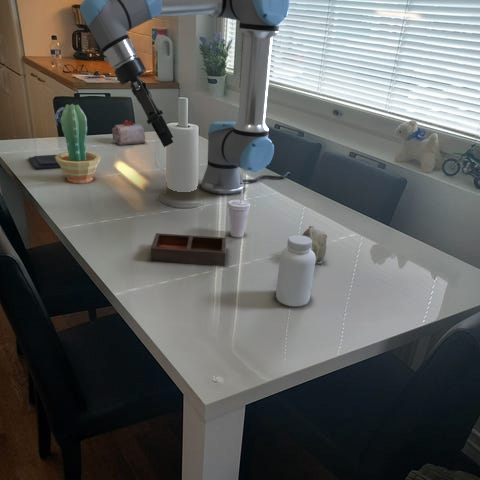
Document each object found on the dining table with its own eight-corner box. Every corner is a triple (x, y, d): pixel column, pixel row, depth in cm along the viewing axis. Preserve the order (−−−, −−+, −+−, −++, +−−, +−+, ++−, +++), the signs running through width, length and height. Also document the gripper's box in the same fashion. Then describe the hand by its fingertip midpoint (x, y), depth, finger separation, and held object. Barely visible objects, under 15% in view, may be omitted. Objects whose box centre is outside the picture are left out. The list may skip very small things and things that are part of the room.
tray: (156, 245, 137) (155, 233, 135) (225, 249, 138) (226, 237, 136) (150, 261, 129) (150, 248, 127) (224, 265, 130) (225, 252, 128)
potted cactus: (88, 170, 190) (81, 99, 177) (110, 181, 181) (105, 107, 168) (49, 177, 180) (39, 102, 167) (71, 188, 172) (62, 110, 158)
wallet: (34, 164, 185) (28, 154, 197) (34, 169, 186) (28, 158, 198) (88, 161, 194) (80, 151, 205) (89, 166, 195) (80, 156, 206)
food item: (118, 146, 224) (116, 123, 218) (111, 142, 229) (110, 119, 224) (146, 144, 230) (146, 121, 225) (139, 140, 236) (138, 118, 230)
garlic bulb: (307, 273, 134) (305, 245, 127) (291, 256, 140) (288, 228, 132) (336, 260, 136) (337, 231, 129) (319, 243, 142) (319, 214, 134)
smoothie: (245, 240, 144) (249, 193, 137) (223, 237, 145) (226, 189, 138) (249, 232, 150) (253, 186, 142) (228, 229, 151) (231, 183, 143)
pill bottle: (272, 290, 120) (279, 231, 112) (305, 291, 121) (314, 232, 113) (277, 307, 113) (285, 246, 105) (312, 308, 114) (322, 247, 106)
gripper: (117, 71, 138) (158, 143, 147) (107, 69, 115) (155, 154, 124) (141, 57, 137) (180, 131, 146) (135, 52, 115) (181, 139, 124)
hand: (169, 142), depth 135 cm, fingers open, 13 cm apart
